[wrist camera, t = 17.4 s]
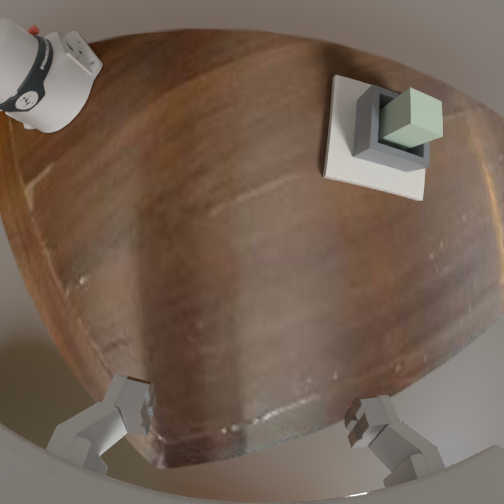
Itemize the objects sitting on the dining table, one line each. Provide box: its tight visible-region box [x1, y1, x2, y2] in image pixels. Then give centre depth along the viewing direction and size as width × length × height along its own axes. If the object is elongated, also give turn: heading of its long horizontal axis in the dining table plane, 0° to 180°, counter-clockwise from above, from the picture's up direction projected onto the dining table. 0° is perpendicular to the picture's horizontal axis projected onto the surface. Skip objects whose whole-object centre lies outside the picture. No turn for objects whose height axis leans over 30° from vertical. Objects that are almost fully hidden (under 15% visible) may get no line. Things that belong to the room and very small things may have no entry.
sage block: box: [378, 88, 443, 151], centre depth 29 cm, size 4×4×12 cm
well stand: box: [323, 75, 430, 201], centre depth 32 cm, size 16×16×8 cm
